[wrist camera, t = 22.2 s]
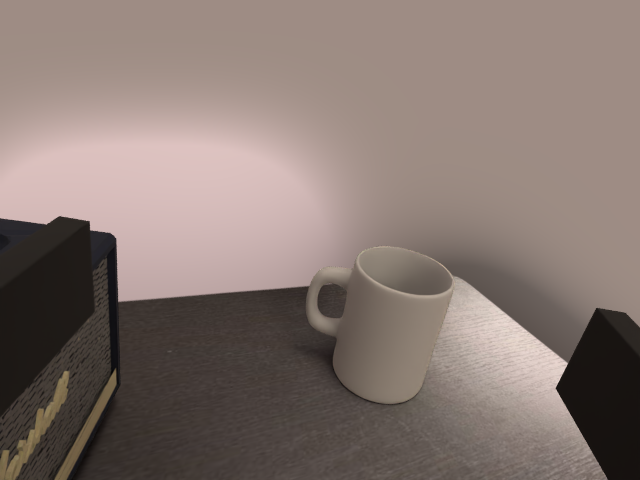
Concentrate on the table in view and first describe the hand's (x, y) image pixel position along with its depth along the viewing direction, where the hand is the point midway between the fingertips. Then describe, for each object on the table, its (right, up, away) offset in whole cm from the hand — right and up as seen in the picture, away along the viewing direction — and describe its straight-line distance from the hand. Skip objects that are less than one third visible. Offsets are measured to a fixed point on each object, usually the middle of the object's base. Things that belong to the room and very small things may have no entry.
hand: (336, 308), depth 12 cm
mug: (+3, -10, +31) cm, 33 cm away
